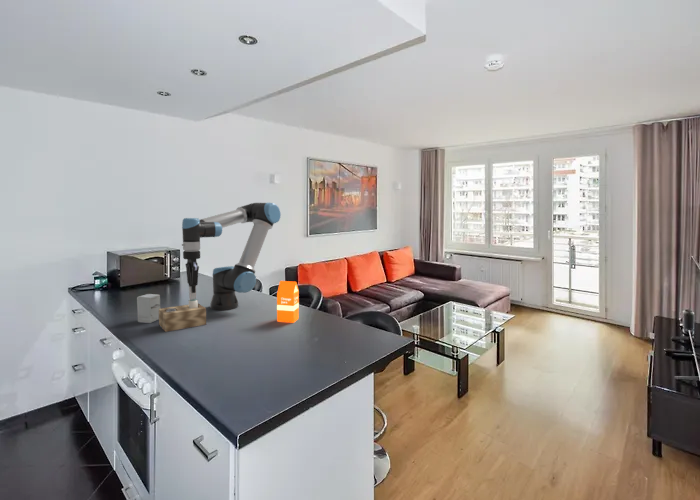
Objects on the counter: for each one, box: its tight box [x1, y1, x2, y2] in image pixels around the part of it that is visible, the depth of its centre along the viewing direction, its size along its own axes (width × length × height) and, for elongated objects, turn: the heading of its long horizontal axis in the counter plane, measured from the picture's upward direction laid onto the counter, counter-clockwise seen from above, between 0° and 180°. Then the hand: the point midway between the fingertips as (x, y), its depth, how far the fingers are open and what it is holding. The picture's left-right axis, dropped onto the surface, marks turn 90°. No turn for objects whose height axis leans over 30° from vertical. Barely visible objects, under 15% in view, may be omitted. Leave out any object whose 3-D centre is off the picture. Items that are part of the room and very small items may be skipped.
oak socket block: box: [158, 303, 207, 333], centre depth 174 cm, size 18×12×8 cm, turn 129°
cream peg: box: [188, 298, 199, 309], centre depth 177 cm, size 4×4×8 cm
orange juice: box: [276, 280, 300, 324], centre depth 184 cm, size 8×9×20 cm
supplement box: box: [136, 293, 161, 324], centre depth 180 cm, size 7×7×13 cm
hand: (192, 299), depth 176 cm, fingers closed
